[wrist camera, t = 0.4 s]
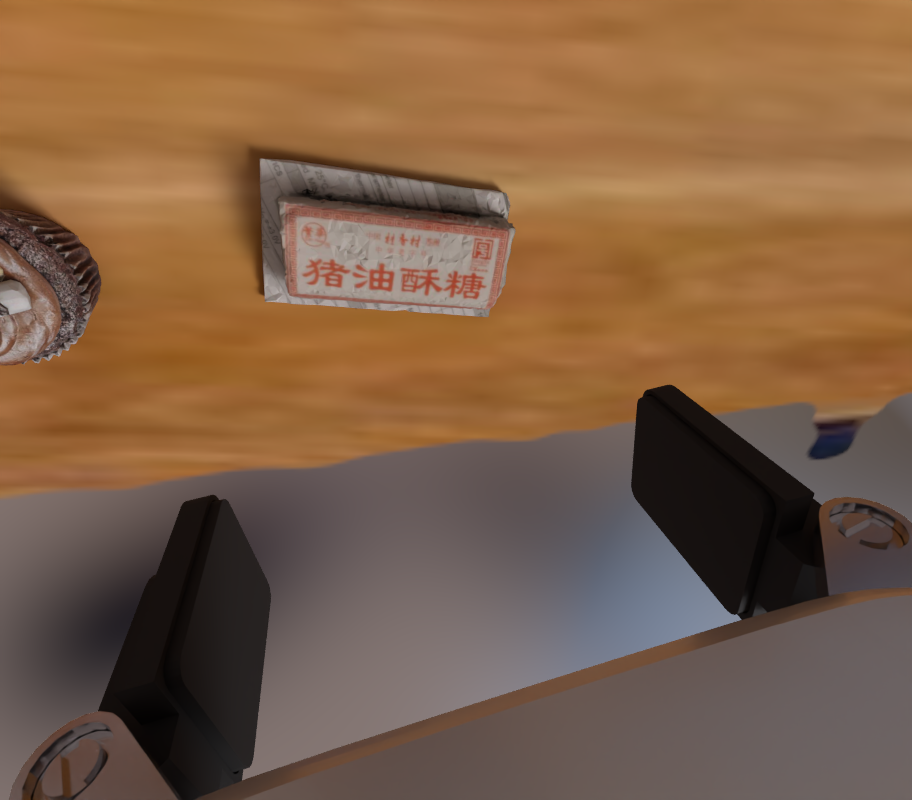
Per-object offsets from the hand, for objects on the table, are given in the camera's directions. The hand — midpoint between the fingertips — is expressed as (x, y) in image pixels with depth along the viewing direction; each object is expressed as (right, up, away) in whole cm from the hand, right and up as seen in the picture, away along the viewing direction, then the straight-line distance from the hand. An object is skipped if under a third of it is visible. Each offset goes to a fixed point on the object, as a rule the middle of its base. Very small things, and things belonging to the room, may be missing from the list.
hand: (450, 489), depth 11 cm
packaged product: (-5, +14, +27) cm, 31 cm away
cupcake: (-29, +11, +22) cm, 38 cm away
